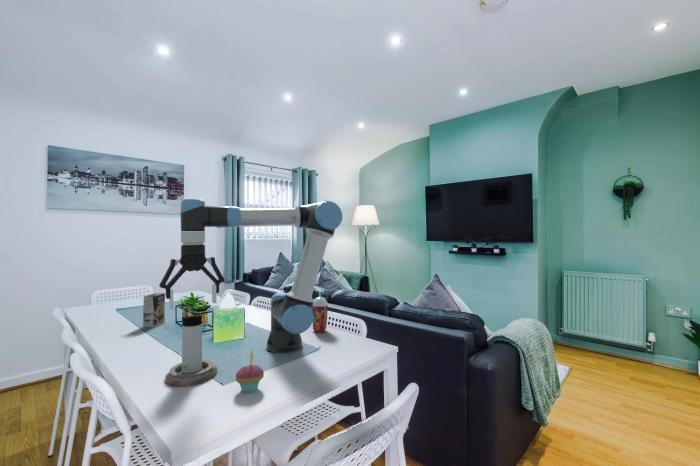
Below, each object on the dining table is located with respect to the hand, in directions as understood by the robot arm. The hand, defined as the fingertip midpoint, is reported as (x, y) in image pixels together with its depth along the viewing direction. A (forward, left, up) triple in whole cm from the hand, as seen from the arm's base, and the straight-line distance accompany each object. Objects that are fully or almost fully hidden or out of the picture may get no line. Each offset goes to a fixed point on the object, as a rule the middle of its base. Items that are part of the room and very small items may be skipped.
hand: (193, 305), depth 111 cm
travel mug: (0, 0, -23) cm, 23 cm away
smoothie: (-32, -56, -24) cm, 69 cm away
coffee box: (+57, -52, -25) cm, 81 cm away
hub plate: (0, 0, -24) cm, 24 cm away
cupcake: (-24, +6, -25) cm, 35 cm away
